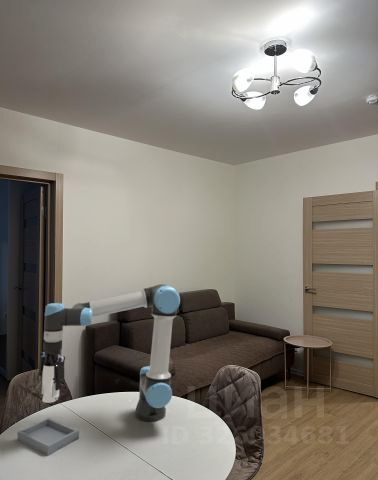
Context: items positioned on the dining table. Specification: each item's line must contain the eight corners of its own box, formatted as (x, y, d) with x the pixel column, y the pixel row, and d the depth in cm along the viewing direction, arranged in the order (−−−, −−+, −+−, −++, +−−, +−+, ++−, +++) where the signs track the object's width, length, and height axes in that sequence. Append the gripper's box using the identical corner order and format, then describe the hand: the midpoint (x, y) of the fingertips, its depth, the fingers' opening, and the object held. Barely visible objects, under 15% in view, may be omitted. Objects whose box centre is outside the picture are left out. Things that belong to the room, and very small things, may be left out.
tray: (78, 438, 146) (78, 430, 146) (47, 455, 133) (48, 446, 134) (48, 425, 157) (48, 417, 157) (17, 440, 144) (17, 431, 144)
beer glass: (52, 404, 142) (54, 367, 143) (37, 402, 143) (39, 365, 144) (62, 397, 149) (63, 362, 149) (47, 395, 150) (49, 360, 151)
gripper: (31, 338, 149) (28, 392, 148) (60, 345, 139) (57, 404, 138) (46, 335, 155) (43, 387, 154) (75, 342, 145) (73, 397, 144)
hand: (50, 395), depth 146 cm, fingers closed on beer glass, 6 cm apart
